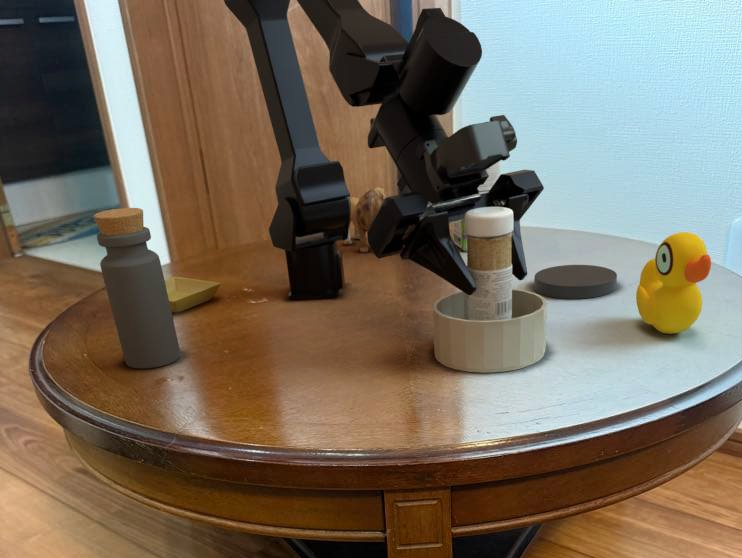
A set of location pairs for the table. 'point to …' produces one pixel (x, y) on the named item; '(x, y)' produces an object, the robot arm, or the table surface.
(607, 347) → the table surface
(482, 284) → the sprinkles bottle
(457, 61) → the robot arm
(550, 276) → the stand
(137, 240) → the bottle
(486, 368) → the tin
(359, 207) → the lion figurine
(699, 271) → the duckling
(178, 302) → the yellow shallow tray
